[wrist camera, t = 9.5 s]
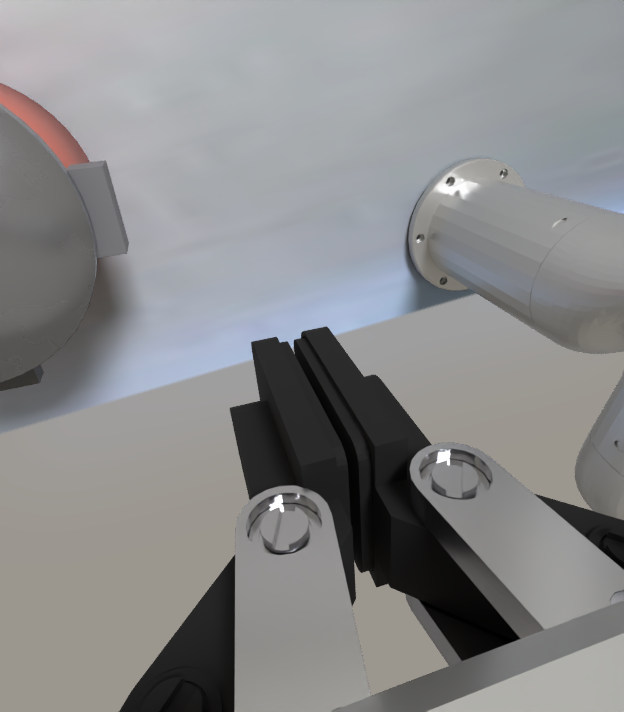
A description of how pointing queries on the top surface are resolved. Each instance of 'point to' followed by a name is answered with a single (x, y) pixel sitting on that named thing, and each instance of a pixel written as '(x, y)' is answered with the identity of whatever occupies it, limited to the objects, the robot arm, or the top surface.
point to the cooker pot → (88, 180)
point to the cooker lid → (39, 250)
